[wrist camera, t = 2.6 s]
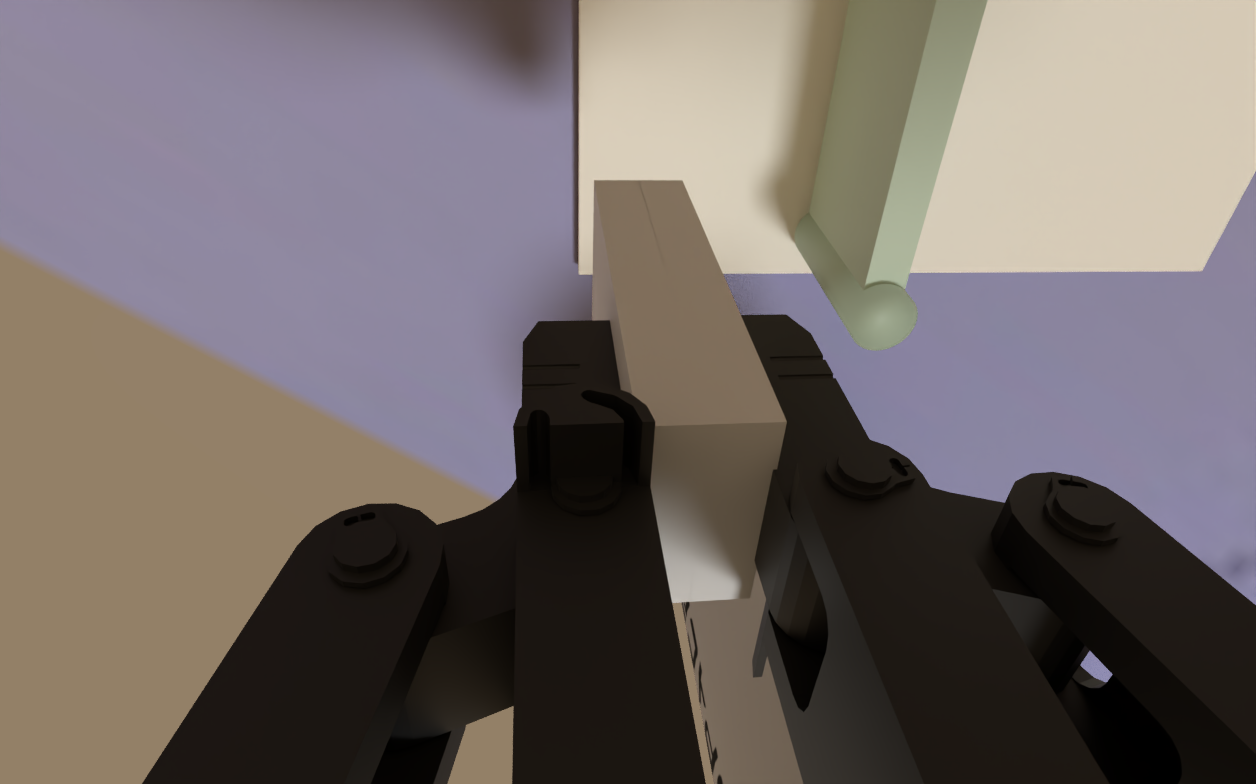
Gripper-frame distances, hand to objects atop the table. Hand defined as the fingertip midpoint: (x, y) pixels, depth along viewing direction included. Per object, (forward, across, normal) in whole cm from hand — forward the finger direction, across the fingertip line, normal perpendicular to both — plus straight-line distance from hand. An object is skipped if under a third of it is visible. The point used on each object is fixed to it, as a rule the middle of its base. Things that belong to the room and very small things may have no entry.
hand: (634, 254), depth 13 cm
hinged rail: (+8, +6, +1) cm, 10 cm away
